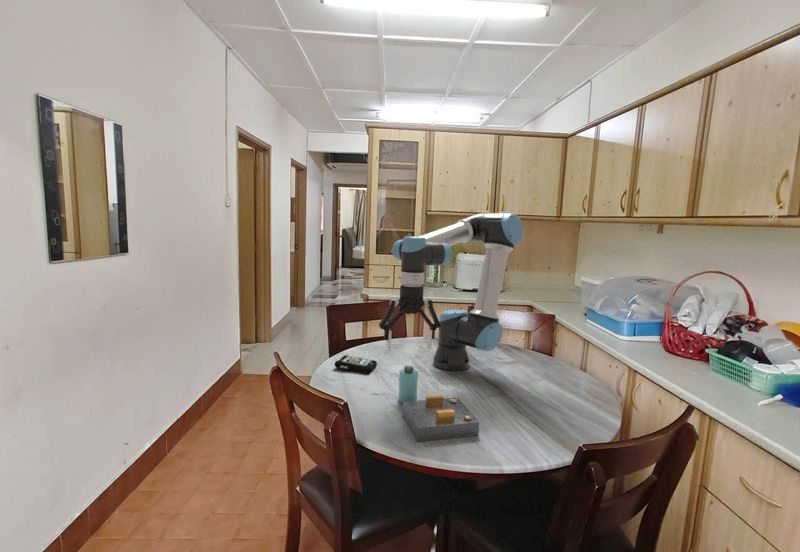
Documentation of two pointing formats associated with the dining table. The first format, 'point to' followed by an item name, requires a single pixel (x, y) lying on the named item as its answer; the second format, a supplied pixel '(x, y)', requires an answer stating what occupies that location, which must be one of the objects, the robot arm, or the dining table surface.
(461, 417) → the fixture block
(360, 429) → the dining table surface
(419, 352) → the dining table surface
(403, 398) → the pump
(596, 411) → the dining table surface
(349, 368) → the phone
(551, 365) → the dining table surface
